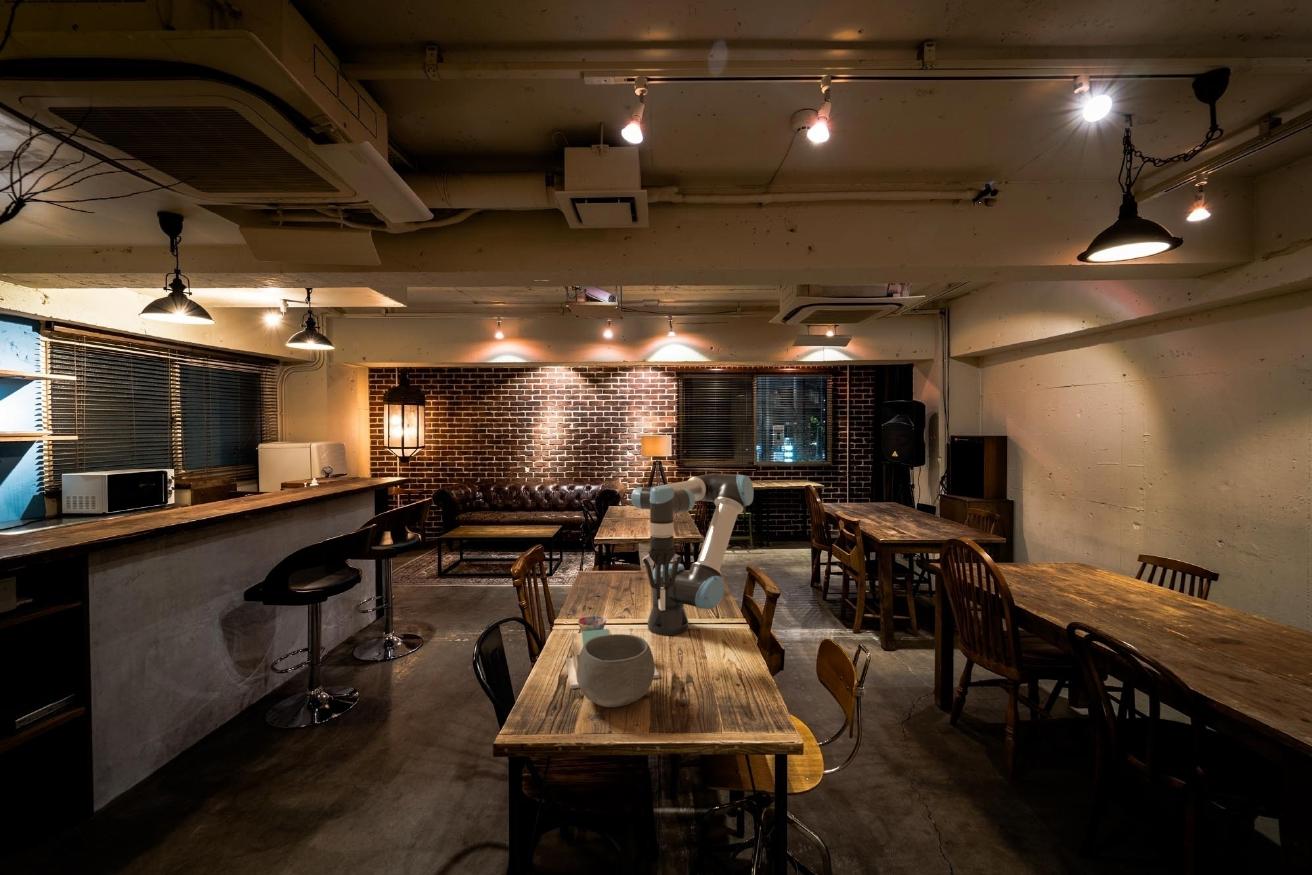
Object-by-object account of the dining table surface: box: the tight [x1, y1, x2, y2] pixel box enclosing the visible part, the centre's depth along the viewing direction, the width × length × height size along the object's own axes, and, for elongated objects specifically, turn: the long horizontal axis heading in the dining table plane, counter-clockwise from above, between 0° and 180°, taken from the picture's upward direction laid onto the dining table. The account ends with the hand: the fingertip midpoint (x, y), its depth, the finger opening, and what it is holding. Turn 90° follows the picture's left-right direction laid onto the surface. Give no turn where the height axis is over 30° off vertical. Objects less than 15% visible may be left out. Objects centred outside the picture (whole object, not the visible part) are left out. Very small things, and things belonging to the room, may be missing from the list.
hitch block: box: [565, 629, 660, 689], centre depth 159 cm, size 26×18×9 cm
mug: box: [577, 615, 607, 633], centre depth 172 cm, size 12×9×11 cm
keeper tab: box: [582, 628, 610, 646], centre depth 153 cm, size 8×6×1 cm
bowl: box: [577, 633, 656, 708], centre depth 141 cm, size 21×21×15 cm
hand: (661, 608), depth 166 cm, fingers closed
